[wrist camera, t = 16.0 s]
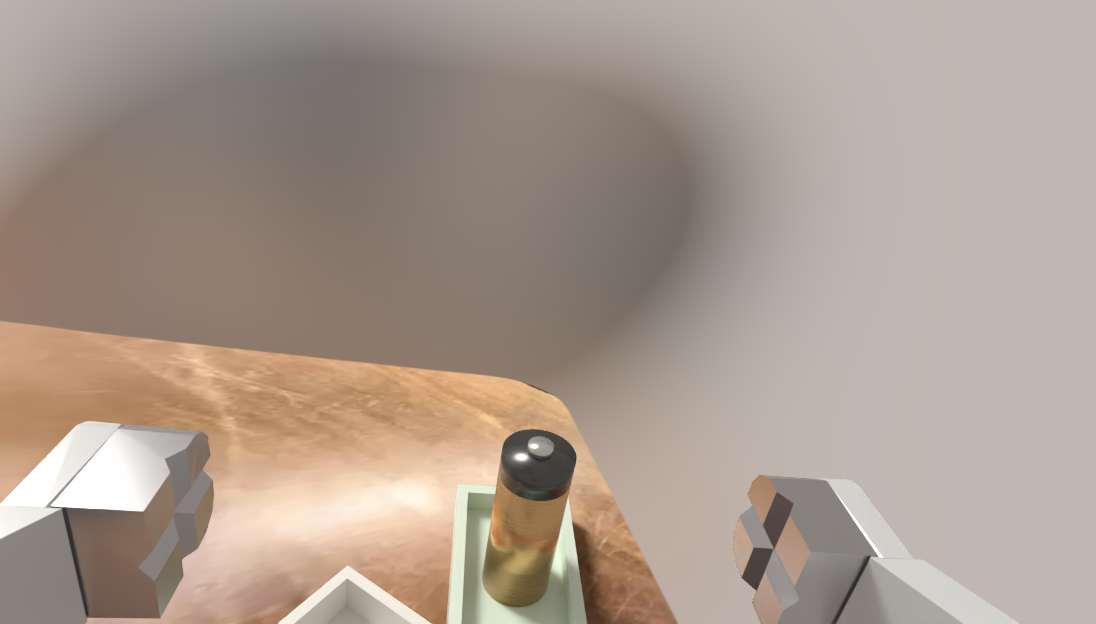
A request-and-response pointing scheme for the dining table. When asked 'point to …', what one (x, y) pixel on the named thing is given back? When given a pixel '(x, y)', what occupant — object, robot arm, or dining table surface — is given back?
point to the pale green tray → (470, 607)
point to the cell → (527, 516)
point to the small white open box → (352, 604)
